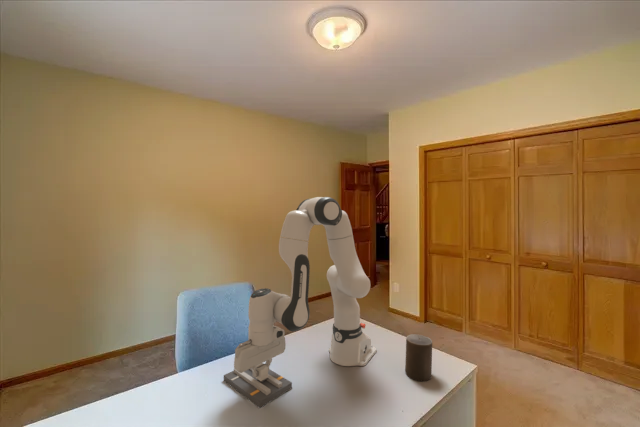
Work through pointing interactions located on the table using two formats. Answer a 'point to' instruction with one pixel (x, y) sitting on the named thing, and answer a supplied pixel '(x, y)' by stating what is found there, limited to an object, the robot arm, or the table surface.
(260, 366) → the fader knob
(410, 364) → the pillar candle
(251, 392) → the slider console
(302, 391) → the table surface
